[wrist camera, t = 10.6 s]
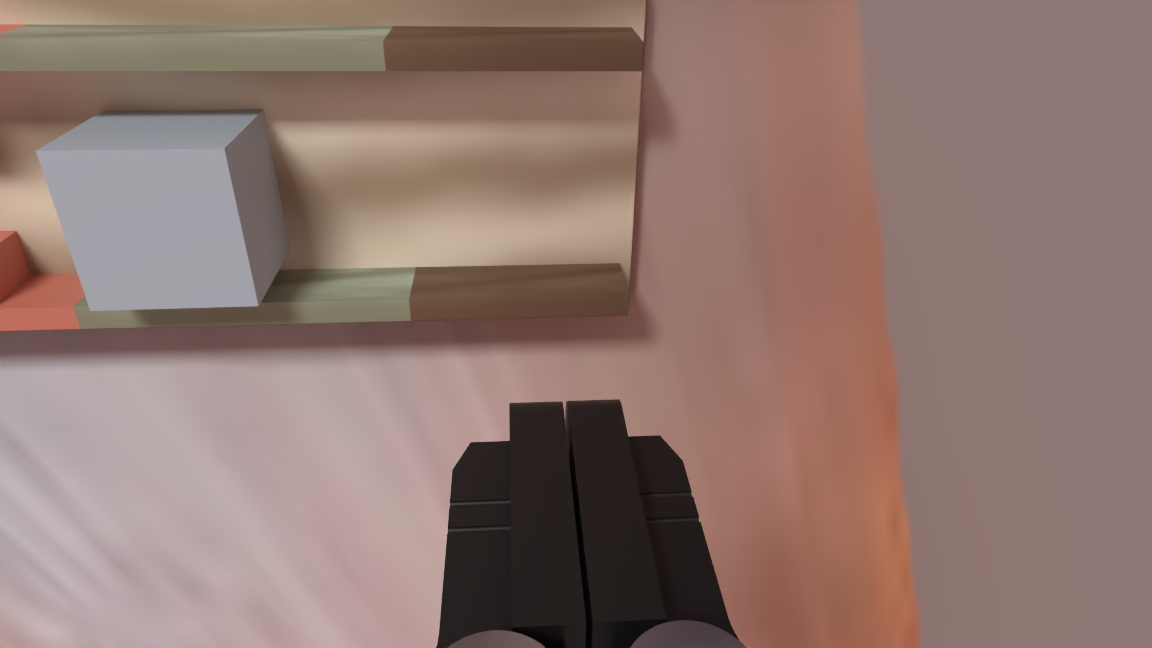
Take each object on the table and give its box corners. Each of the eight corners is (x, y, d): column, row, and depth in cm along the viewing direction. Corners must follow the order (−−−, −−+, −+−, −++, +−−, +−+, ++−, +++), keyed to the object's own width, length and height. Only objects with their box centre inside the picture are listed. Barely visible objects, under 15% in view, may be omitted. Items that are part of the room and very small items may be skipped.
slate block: (102, 110, 30) (35, 150, 26) (263, 109, 30) (224, 148, 26) (144, 253, 33) (90, 310, 29) (290, 250, 33) (258, 306, 29)
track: (-223, -27, 28) (-327, -12, 24) (642, -19, 30) (660, -4, 27) (-68, 317, 35) (-132, 366, 31) (625, 301, 37) (637, 345, 34)
